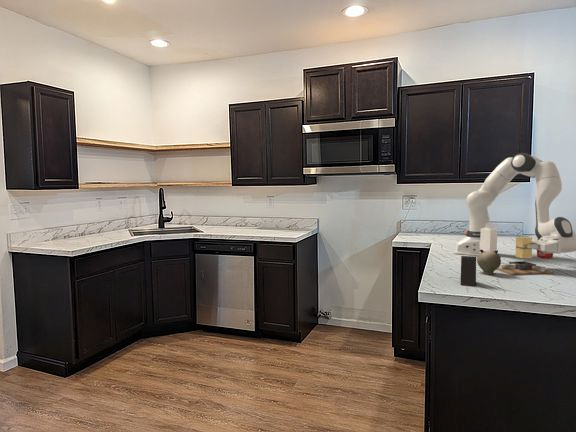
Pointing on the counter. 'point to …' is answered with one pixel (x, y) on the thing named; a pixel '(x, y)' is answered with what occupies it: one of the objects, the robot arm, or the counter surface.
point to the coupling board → (522, 268)
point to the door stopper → (468, 270)
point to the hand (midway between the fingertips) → (522, 245)
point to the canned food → (544, 254)
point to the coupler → (523, 247)
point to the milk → (488, 238)
